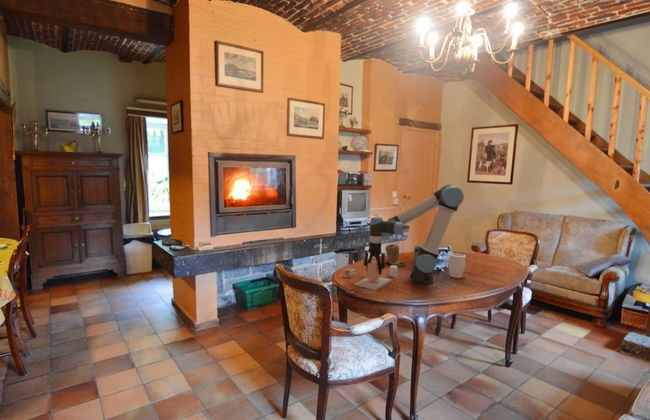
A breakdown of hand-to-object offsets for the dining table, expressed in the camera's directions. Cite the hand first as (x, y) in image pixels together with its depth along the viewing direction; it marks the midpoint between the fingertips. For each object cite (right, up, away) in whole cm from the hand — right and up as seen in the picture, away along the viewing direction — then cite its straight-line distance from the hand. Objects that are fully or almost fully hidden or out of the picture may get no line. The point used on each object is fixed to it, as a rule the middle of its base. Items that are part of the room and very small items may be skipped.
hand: (373, 278), depth 227 cm
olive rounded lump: (-14, -1, +11) cm, 18 cm away
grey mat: (0, -3, 0) cm, 3 cm away
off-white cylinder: (+15, -2, +15) cm, 22 cm away
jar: (+59, -3, +20) cm, 62 cm away
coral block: (0, 0, 0) cm, 0 cm away
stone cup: (+21, +2, +45) cm, 50 cm away
